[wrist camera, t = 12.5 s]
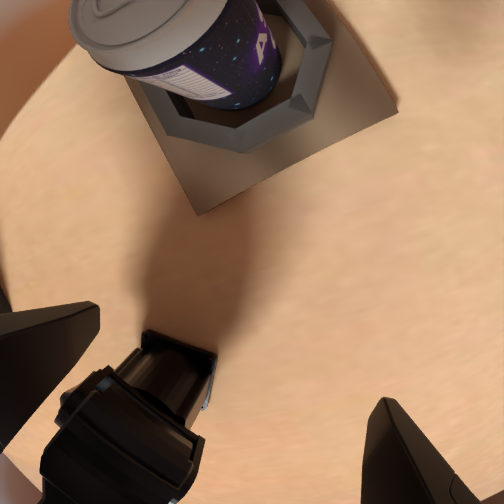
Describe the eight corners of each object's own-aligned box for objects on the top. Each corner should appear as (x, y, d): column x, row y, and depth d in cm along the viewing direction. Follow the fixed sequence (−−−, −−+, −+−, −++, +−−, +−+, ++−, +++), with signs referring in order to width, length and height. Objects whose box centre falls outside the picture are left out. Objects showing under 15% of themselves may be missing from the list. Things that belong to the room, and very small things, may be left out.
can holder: (281, -45, 15) (273, -71, 12) (395, 114, 17) (409, 106, 14) (119, 55, 20) (91, 45, 16) (203, 213, 22) (181, 224, 18)
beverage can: (296, 96, 17) (250, 10, 6) (206, 125, 19) (69, 100, 8) (267, 18, 16) (199, -105, 5) (184, 48, 18) (56, -24, 6)
